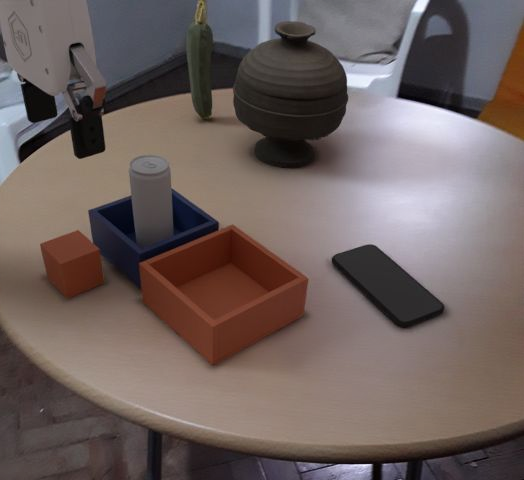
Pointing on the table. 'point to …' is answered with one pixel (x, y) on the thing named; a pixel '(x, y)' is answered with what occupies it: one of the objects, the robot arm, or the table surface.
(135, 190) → the beverage can
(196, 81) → the vegetable
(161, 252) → the navy bin
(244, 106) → the pot
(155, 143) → the table surface
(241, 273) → the terracotta bin
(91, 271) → the terracotta block
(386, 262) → the smartphone
